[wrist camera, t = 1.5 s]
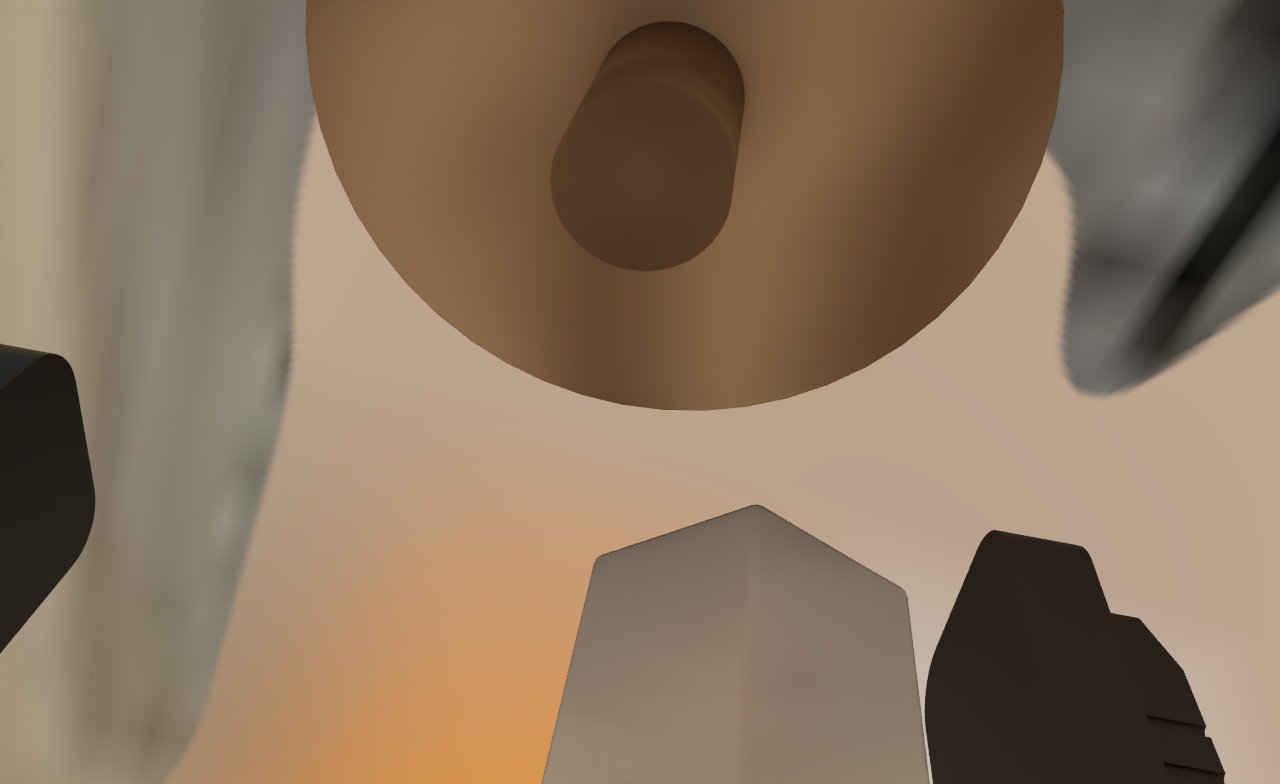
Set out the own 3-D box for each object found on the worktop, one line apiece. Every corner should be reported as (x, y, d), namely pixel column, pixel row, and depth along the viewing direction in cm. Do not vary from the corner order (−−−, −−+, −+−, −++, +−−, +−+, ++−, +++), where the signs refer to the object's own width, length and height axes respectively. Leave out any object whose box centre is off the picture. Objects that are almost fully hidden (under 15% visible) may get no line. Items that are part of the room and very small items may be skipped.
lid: (1175, -277, 17) (1320, -270, 12) (928, 431, 25) (959, 604, 20) (319, -417, 18) (143, -462, 13) (335, 322, 25) (227, 465, 21)
